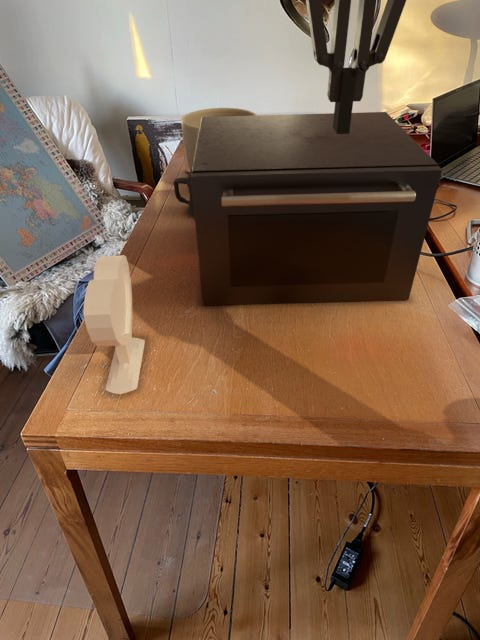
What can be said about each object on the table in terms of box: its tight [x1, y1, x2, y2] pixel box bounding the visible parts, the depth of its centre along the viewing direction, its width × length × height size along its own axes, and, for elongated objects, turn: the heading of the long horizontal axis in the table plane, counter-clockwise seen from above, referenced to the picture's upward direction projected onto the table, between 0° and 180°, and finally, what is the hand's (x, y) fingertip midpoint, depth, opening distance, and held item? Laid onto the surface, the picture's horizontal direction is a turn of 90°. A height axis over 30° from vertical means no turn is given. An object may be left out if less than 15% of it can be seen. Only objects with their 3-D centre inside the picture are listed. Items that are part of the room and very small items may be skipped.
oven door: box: [191, 165, 443, 306], centre depth 80 cm, size 5×40×26 cm, turn 91°
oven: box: [192, 111, 439, 173], centre depth 95 cm, size 32×40×26 cm
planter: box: [180, 107, 258, 171], centre depth 130 cm, size 21×21×19 cm
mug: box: [173, 169, 195, 218], centre depth 119 cm, size 12×9×11 cm
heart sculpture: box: [83, 254, 146, 395], centre depth 71 cm, size 16×5×18 cm, turn 3°
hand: (340, 130), depth 55 cm, fingers closed
